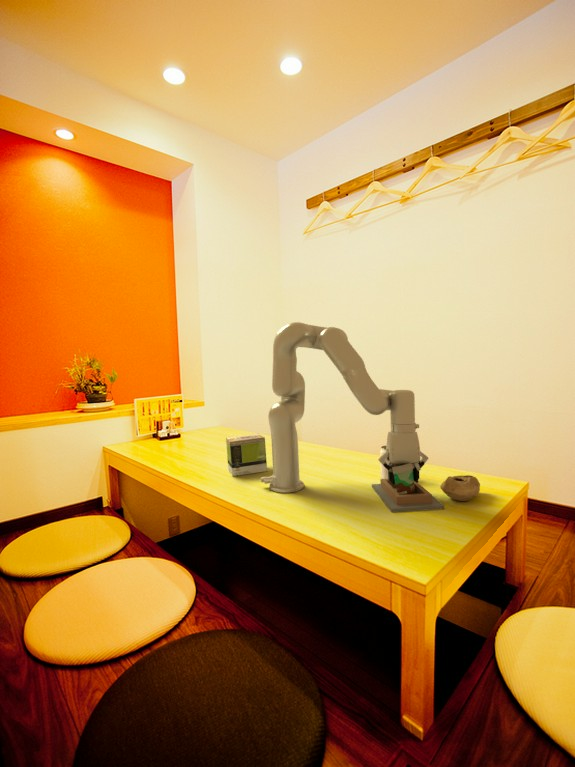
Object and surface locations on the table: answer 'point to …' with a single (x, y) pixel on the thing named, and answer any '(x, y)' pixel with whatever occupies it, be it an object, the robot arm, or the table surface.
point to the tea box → (246, 454)
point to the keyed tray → (406, 498)
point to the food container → (404, 478)
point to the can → (383, 470)
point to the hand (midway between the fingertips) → (403, 481)
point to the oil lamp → (461, 487)
